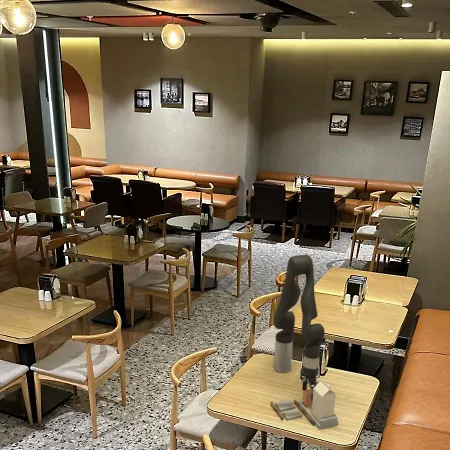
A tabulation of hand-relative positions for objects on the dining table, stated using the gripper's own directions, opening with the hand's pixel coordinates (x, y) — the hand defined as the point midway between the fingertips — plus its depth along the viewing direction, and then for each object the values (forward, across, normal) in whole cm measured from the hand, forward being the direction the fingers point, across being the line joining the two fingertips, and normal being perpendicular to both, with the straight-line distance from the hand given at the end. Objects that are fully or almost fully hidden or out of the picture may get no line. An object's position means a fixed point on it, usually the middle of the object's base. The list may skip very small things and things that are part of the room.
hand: (308, 394), depth 230 cm
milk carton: (+6, +12, 0) cm, 13 cm away
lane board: (+5, +5, -5) cm, 9 cm away
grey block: (+5, +8, 0) cm, 10 cm away
